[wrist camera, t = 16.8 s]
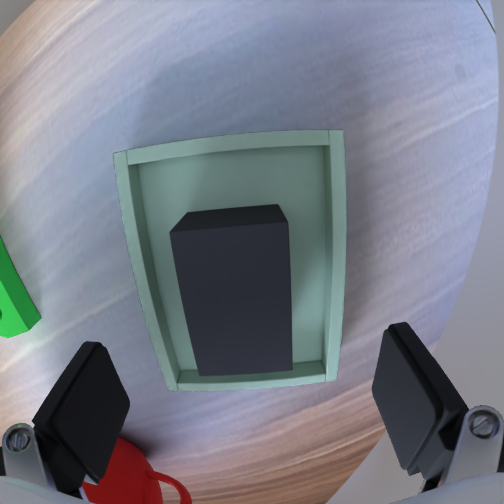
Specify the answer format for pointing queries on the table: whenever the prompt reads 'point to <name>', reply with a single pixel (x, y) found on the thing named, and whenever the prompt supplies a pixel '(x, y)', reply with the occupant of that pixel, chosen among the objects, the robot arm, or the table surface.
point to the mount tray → (230, 196)
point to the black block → (236, 288)
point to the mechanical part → (14, 300)
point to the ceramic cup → (131, 480)
